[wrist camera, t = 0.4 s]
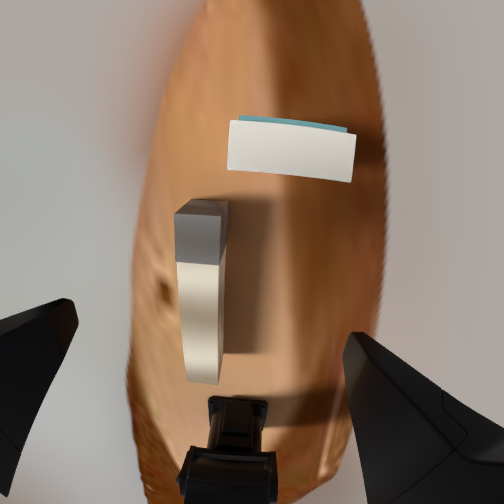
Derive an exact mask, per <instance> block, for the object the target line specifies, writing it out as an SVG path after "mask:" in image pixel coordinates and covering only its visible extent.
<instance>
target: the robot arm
mask: <svg viewBox="0 0 504 504" xmlns="http://www.w3.org/2000/svg"><path fill="white" fill-rule="evenodd" d="M78 324H79V321H78V316H77V313H76V309H75V305H74V302H73V301H72V300H70V299H65V298H61V299H58V300H55V301H52V302H49V303H47V304H44V305H41V306H38V307H35V308H32V309H29V310H27V311H24V312H21V313H18V314H16V315H12V316H10V317H7V318H4V319H1V320H0V493H1V494H2V495H4V496H5V497H8V494H9V491H10V488H11V484H12V481H13V477H14V474H15V471H16V468H17V465H18V462H19V459H20V456H21V452H22V450H23V447H24V445H25V442H26V439H27V437H28V434H29V432H30V429H31V427H32V424H33V422H34V420H35V417H36V415H37V413H38V411H39V408H40V406H41V404H42V402H43V400H44V398H45V396H46V393H47V391H48V389H49V387H50V385H51V383H52V381H53V379H54V377H55V375H56V373H57V371H58V369H59V368H60V366H61V364H62V362H63V360H64V357H65V355H66V353H67V350H68V348H69V346H70V343H71V341H72V339H73V336H74V334H75V332H76V330H77V328H78ZM343 367H344V375H345V383H346V392H347V400H348V405H349V409H350V414H351V418H352V423H353V427H354V432H355V437H356V442H357V447H358V451H359V457H360V462H361V467H362V472H363V478H364V484H365V490H366V496H367V502H368V504H504V428H503V427H501V426H499V425H498V424H496V423H494V422H492V421H491V420H489V419H488V418H486V417H484V416H482V415H481V414H479V413H477V412H476V411H474V410H472V409H471V408H469V407H467V406H466V405H464V404H463V403H461V402H460V401H458V400H457V399H456V398H454V397H453V396H451V395H450V394H448V393H447V392H446V391H444V390H442V389H441V388H440V387H439V386H437V385H436V384H435V383H433V382H432V381H430V380H429V379H428V378H426V377H425V376H423V375H422V374H421V373H420V372H418V371H417V370H415V369H414V368H413V367H411V366H410V365H408V364H407V363H406V362H404V361H403V360H402V359H400V358H399V357H397V356H396V355H395V354H393V353H392V352H391V351H389V350H388V349H386V348H385V347H384V346H382V345H381V344H379V343H378V342H377V341H375V340H374V339H373V338H371V337H370V336H368V335H367V334H366V333H364V332H351V333H350V334H349V337H348V340H347V343H346V346H345V349H344V351H343ZM208 408H209V422H210V432H209V438H208V444H207V448H201V447H196V446H190V449H189V451H188V452H187V454H186V458H185V461H184V463H183V466H182V469H181V471H180V473H179V475H178V477H177V479H176V483H177V484H178V485H179V487H180V494H181V496H182V497H184V504H276V503H277V496H278V475H277V462H276V451H270V452H261V438H262V431H263V427H264V423H265V418H266V413H267V409H268V403H267V402H266V401H252V400H238V399H227V398H218V397H210V398H209V399H208Z"/></svg>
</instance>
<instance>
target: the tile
mask: <svg viewBox="0 0 504 504" xmlns="http://www.w3.org/2000/svg"><path fill="white" fill-rule="evenodd" d="M355 144H356V135H354V134H349V133H347V128H344V127H338V126H333V125H327V124H320V123H313V122H306V121H299V120H290V119H281V118H271V117H258V116H242V115H239V120H230V130H229V145H228V160H227V170H238V171H252V172H265V173H276V174H287V175H296V176H305V177H313V178H321V179H329V180H336V181H343V182H350V183H351V178H352V171H353V162H354V154H355Z"/></svg>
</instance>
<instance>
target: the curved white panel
mask: <svg viewBox="0 0 504 504" xmlns="http://www.w3.org/2000/svg"><path fill="white" fill-rule="evenodd" d="M228 211H229V201H217V200H199V199H191V200H190V201H188V202H187V203H186V204H185V205H184V206H183V207H181V208H180V209H179V210H178V211H177V212H176V213H175V214H174V226H175V260H176V262H177V276H178V293H179V307H180V320H181V331H182V342H183V351H184V360H185V369H186V377H187V381H188V382H195V383H202V384H210V385H218V383H219V377H220V371H221V364H222V358H223V339H224V295H225V264H226V243H227V232H228Z"/></svg>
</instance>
